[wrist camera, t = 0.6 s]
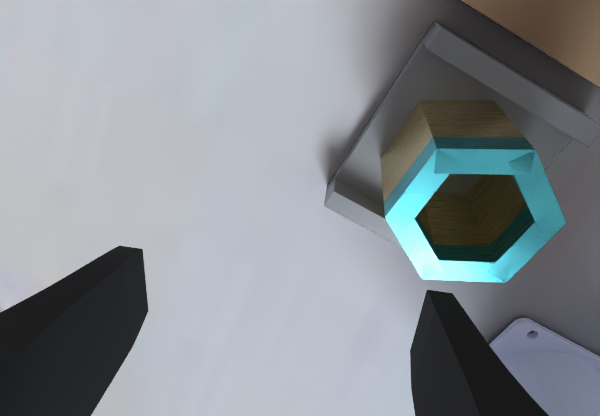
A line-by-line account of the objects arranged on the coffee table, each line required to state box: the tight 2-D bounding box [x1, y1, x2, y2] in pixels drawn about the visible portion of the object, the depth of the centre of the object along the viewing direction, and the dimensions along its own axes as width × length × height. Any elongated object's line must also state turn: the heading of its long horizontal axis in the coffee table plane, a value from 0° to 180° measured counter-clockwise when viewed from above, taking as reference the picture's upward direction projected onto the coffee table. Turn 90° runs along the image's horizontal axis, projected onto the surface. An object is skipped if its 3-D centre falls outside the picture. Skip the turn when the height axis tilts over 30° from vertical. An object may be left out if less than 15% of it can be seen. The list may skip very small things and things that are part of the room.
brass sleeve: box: [380, 100, 566, 283], centre depth 17 cm, size 5×6×5 cm
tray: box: [324, 21, 600, 248], centre depth 19 cm, size 7×8×2 cm
